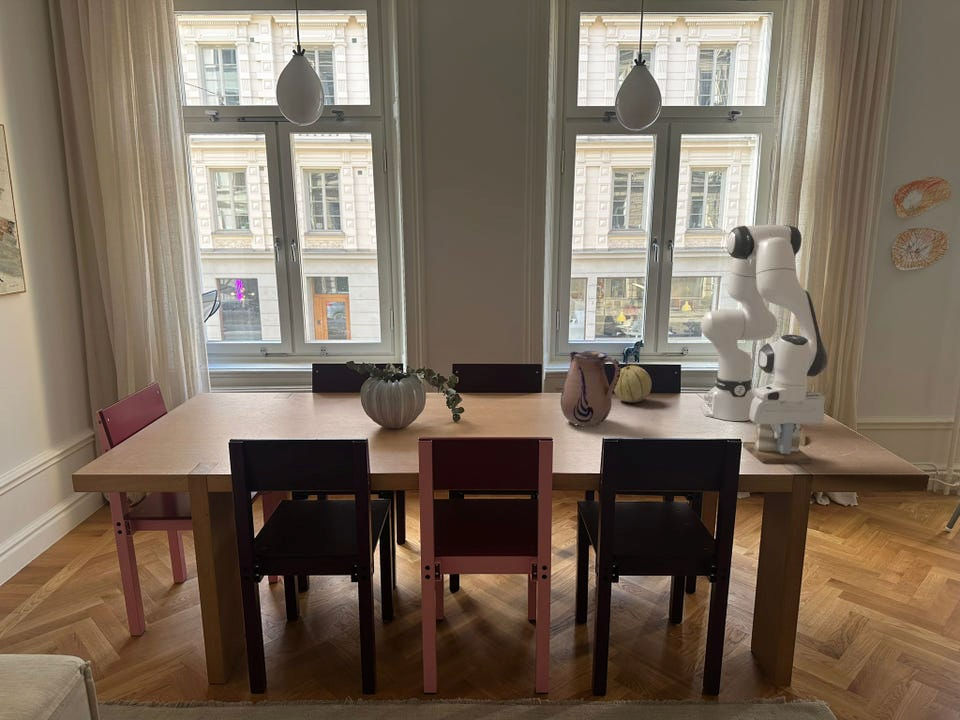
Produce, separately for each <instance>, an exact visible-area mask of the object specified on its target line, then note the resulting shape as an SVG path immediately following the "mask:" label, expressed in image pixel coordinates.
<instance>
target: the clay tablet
mask: <svg viewBox="0 0 960 720" xmlns="http://www.w3.org/2000/svg"><path fill="white" fill-rule="evenodd" d="M805 444H806V432H803V431H801V432H800V441H799V446H803V447H804V446H805Z"/></svg>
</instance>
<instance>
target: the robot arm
mask: <svg viewBox="0 0 960 720" xmlns="http://www.w3.org/2000/svg"><path fill="white" fill-rule="evenodd" d="M801 246H802V234H801V232H800V230H799V228H798V227H795V226H793V225H788V224H785V225H780V224H779V225H778V224H762V225H761V224H756V225H755V224H754V225H740V226H736V227H733V228H732V230H730V232H729V233H728V236H727V241H726V250H727V253H728V255H730V257H732V258H733V259H732V263H731V267H730V272H729V280H728V286H727V293H728V294H729V297H731V299H733V300H734V301H736V302H738V303H740V304H741V306H740V309H739V308H738V309H716V310H715V309H714V310H711V311H706V313H705V314H704V315H703V316H702V318H701V321H700V331H701V332H702V334H703V336H704V337H705V338H706V339H707V340H709V341H710V342H711V344H713V346H714V347H715V349H716V353H717V358H718V363H717V364H718V366H717V376H716V379H715V381H714V387H712V388H711V389H710V390H709V391H708V392H707V394H705V395H704V396H703V398H704V402H700V403H699V407H700V409H701V411H702V413H703V415H704V416H705V417H710V418H715V419H719V420H723V421H724V420H725V421H731V422H733V421H734V422H746V421H751V422H752V423H753V424H755V425H757V424H771V426H772V428H773V430H774V437H775V438H782V433H781V432H780V431H778V429H777V427H779V424H794V426H793V436H792V438H795V434H796V432H797V431H798V430H799V429H800V425H801V426H802V425H821V424H822V423H824V421H825V406H824V405H825V402H826V397H825V395H824V394H823V393H821V392H820V391H814V392H812V391H807V390H808V378H807V377H812V378H814V377H816V376H818V375H819V374H821V373H822V372H823V371H824V370H825V369H826V367H827V365H828V354H827V351H826V349H825V346H824V344H823V340H822V337H821V333H820V330H819V325H818V320H817V315H816V312H815V308H814V304H813V300H812V298H811V295H810V293H809V292H808V291H807V290H805V289H804V288H803V287H802V286H801V284H800V282H799V278H798V277H797V276H798V275H797V264H796V258H795V256H796V255H797V254H798V253H799V251H800V249H801ZM765 300H766V301H767V302H769V303H771V304H773V305H776V306H779V307H781V308H784V309H786V310H788V311H790V312H791V313H792V314H793V315H794V316H795V317H796V320H797V324H798V327H799V328H798V329H799V333H800V334H799V335H798V334H784V335H781V336H780V337H779V338H778V340H777V341H773V342H768V343H765V344H764V345H763V346H761V348H760V349H759V351H758V358H757V365H758V367H759V369H761V370H762V371H763V372H764V373H766V374H769V375H774V377H773V380H772V382H771V383H769V384H767V385H763V386H760V387H757V388H755V389H754V393H753V392H752V391H751V390H752V386H753V380H752V369H753V368H752V367H753V359H752V356H751V355H750V354H749V353H748V352H746V351H744V350H743V349H740V348H739V345H738V341H751V342H752V341H762V340H767V339H771V338H772V337H773V336H774V335H775V334H776V333H777V329H778V320H777V317H776V315H775V314H774V313H773V312H772V311H771V310H769V308H768V307H767V306H766V304H765Z"/></svg>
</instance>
